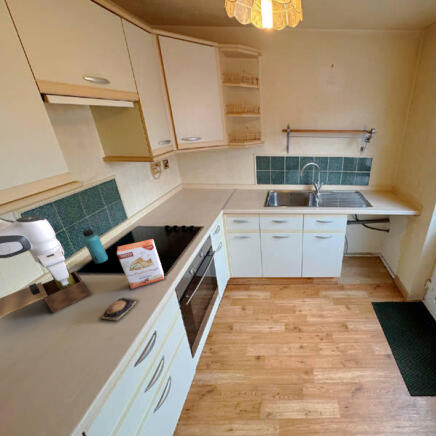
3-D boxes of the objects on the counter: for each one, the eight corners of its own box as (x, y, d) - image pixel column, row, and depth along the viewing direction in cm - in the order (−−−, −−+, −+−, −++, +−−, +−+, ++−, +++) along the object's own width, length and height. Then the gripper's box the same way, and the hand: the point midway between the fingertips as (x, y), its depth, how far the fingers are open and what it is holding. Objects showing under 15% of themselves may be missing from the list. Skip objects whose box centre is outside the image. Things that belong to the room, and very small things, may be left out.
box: (53, 313, 94) (43, 298, 91) (46, 299, 101) (37, 285, 98) (90, 295, 103) (83, 281, 100) (82, 283, 110) (75, 270, 107)
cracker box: (131, 290, 106) (115, 252, 97) (131, 282, 111) (117, 246, 102) (164, 279, 112) (152, 243, 103) (164, 272, 117) (152, 237, 108)
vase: (84, 288, 106) (70, 263, 100) (75, 298, 101) (60, 272, 94) (69, 290, 105) (55, 265, 99) (59, 299, 100) (43, 274, 94)
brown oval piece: (117, 322, 90) (114, 315, 88) (99, 318, 92) (96, 312, 90) (138, 301, 99) (136, 295, 98) (122, 299, 101) (119, 292, 99)
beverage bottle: (111, 257, 129) (97, 226, 121) (106, 264, 124) (92, 232, 115) (97, 260, 127) (83, 228, 119) (92, 267, 122) (76, 234, 113)
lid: (0, 316, 83) (-5, 310, 81) (-3, 301, 89) (-8, 295, 88) (47, 296, 92) (44, 290, 90) (41, 283, 98) (38, 277, 97)
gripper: (33, 247, 97) (47, 273, 102) (42, 265, 85) (58, 293, 91) (53, 241, 101) (66, 267, 107) (65, 258, 90) (78, 285, 96)
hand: (62, 279), depth 99 cm, fingers open, 8 cm apart
